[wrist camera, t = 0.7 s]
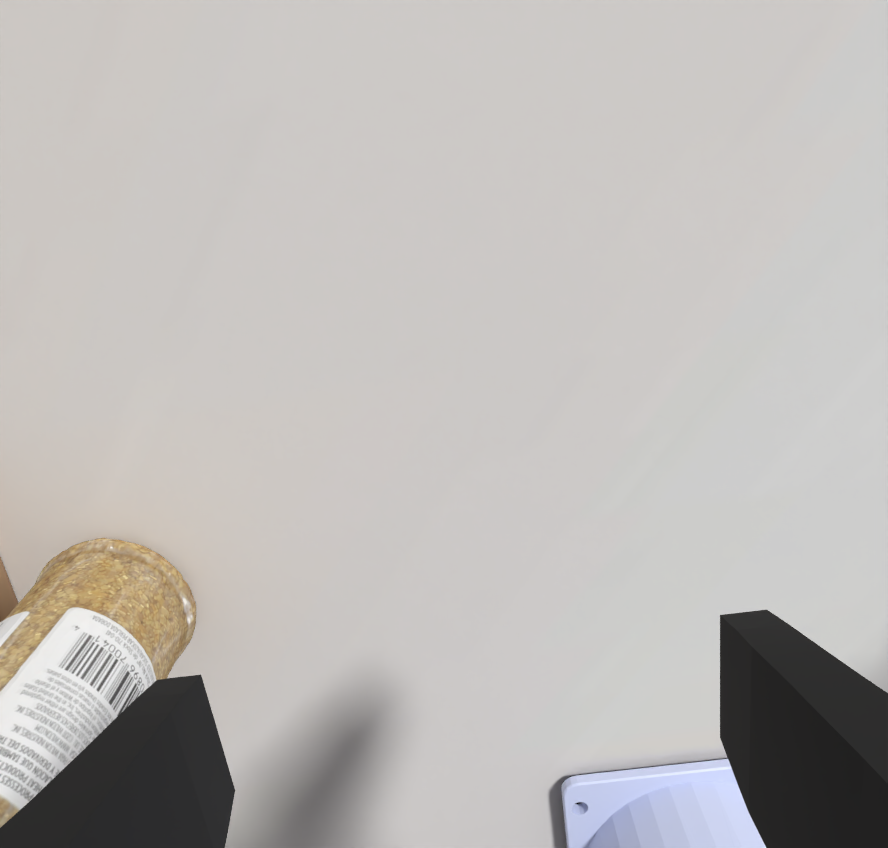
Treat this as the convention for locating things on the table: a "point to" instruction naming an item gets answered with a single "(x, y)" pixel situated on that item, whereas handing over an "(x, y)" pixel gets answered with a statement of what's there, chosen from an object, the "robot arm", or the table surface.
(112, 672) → the sprinkles bottle
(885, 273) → the table surface
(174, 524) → the table surface
